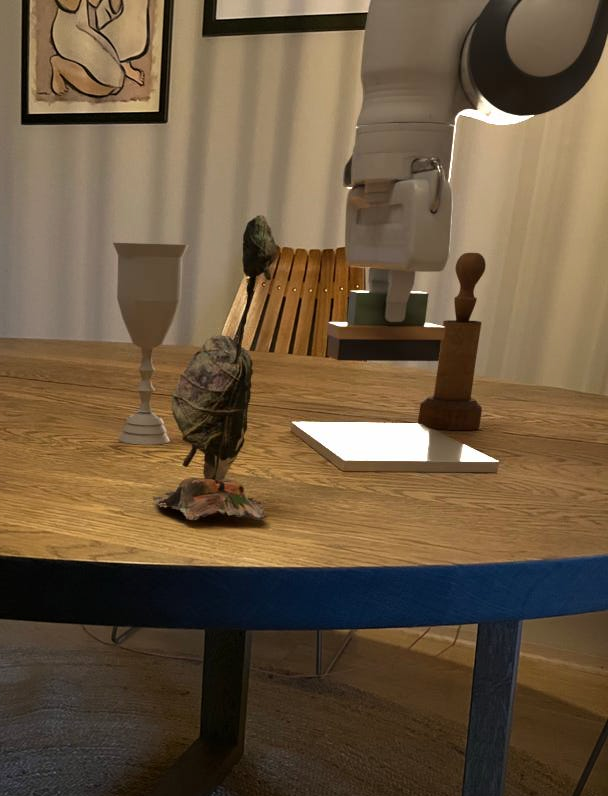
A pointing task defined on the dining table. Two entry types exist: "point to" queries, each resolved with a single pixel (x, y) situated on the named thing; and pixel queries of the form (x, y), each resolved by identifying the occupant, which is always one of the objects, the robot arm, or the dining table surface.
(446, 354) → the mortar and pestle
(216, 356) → the plant with pod
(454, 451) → the tile
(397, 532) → the dining table surface
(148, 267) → the chalice
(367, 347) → the brush
